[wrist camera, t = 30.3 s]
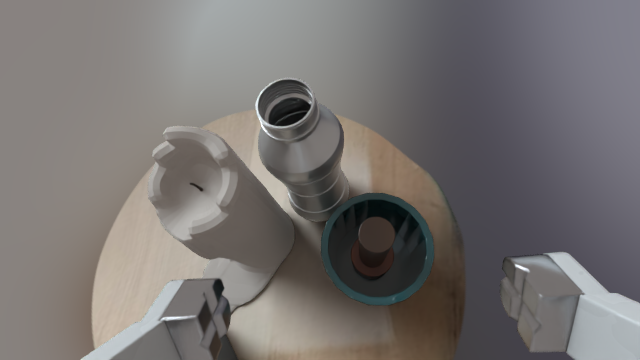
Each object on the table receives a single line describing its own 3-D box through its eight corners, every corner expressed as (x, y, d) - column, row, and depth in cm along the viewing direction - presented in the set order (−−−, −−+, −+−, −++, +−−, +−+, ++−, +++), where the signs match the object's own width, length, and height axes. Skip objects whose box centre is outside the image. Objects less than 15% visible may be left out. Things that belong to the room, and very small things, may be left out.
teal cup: (432, 271, 35) (458, 259, 25) (364, 322, 34) (365, 330, 25) (380, 204, 38) (386, 173, 28) (315, 250, 37) (300, 233, 28)
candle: (182, 295, 37) (-1, 287, 18) (259, 194, 40) (169, 99, 21) (230, 337, 35) (79, 377, 16) (307, 227, 38) (255, 154, 19)
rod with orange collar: (385, 236, 36) (398, 199, 23) (394, 275, 34) (415, 258, 21) (348, 244, 36) (340, 211, 23) (356, 282, 34) (353, 271, 21)
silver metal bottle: (283, 190, 40) (213, 92, 21) (331, 161, 40) (306, 41, 22) (310, 237, 37) (259, 173, 19) (361, 205, 38) (361, 113, 19)
